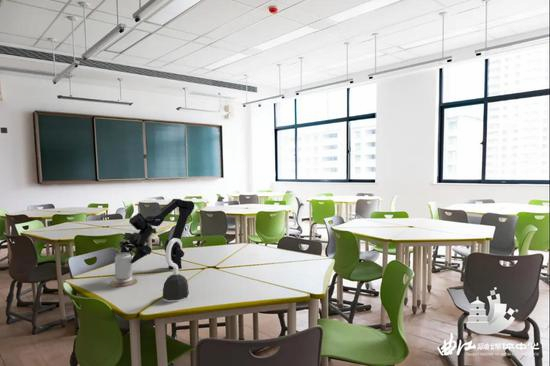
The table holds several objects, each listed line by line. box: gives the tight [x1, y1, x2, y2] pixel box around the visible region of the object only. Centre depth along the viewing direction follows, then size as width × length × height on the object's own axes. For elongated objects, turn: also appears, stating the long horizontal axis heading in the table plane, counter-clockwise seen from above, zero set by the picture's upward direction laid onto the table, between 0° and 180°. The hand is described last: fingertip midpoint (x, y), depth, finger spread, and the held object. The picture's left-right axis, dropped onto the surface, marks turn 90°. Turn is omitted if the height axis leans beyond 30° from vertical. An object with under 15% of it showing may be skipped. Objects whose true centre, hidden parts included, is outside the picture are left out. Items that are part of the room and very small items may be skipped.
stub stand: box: [109, 275, 138, 288], centre depth 169 cm, size 12×12×2 cm
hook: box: [162, 238, 190, 303], centre depth 148 cm, size 11×11×25 cm
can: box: [114, 252, 133, 280], centre depth 169 cm, size 8×8×12 cm
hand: (125, 262), depth 170 cm, fingers open, 9 cm apart
